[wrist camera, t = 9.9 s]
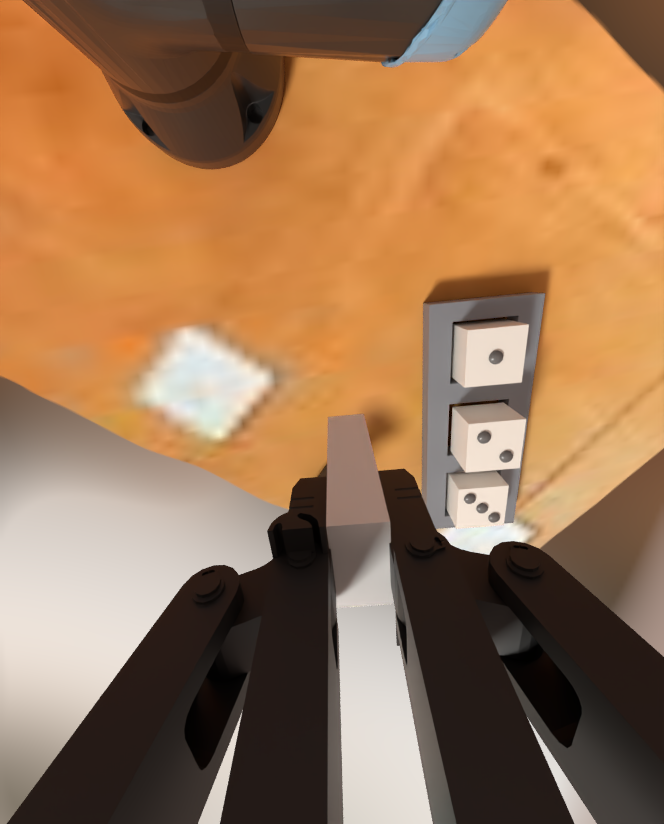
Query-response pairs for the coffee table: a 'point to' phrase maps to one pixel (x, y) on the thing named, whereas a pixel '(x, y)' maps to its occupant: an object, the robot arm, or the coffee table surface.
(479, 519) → the white die
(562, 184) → the coffee table surface
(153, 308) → the coffee table surface
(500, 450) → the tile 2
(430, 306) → the board
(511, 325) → the white die
